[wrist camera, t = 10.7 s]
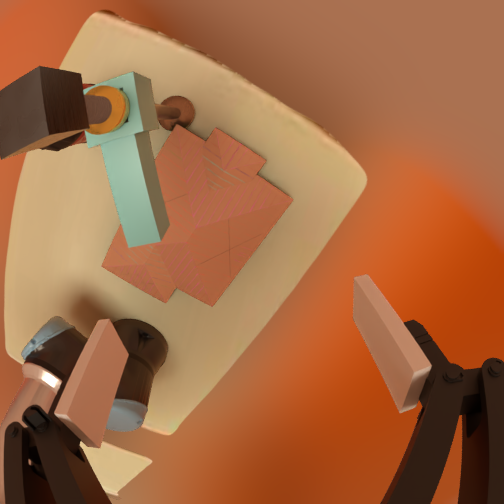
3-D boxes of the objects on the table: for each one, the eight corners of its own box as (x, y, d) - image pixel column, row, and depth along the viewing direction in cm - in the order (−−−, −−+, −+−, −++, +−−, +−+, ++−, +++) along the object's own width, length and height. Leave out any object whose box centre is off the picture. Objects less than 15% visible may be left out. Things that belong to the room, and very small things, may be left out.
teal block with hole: (179, 221, 28) (170, 242, 23) (134, 230, 28) (117, 252, 23) (150, 79, 22) (133, 71, 17) (102, 94, 22) (78, 92, 17)
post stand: (197, 126, 46) (82, 156, 10) (162, 134, 46) (-9, 196, 10) (191, 93, 43) (64, 24, 7) (156, 101, 43) (-27, 84, 7)
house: (299, 182, 51) (310, 194, 44) (202, 312, 62) (199, 337, 55) (189, 110, 45) (181, 108, 37) (107, 258, 55) (92, 279, 48)
